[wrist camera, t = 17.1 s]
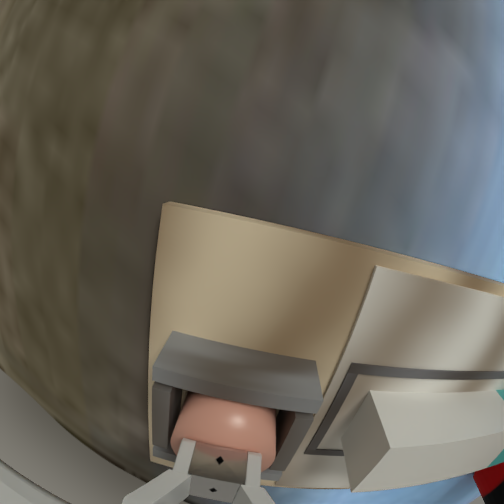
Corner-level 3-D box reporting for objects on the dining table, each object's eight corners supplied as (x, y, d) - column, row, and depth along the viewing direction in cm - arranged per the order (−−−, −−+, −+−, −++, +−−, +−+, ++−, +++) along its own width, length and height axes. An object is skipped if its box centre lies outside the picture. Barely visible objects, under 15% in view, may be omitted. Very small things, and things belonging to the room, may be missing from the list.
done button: (286, 379, 12) (288, 432, 9) (264, 435, 13) (261, 483, 10) (191, 359, 12) (172, 408, 9) (184, 419, 13) (169, 464, 10)
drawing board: (558, 300, 11) (587, 320, 8) (452, 467, 15) (464, 493, 12) (170, 201, 11) (133, 214, 8) (153, 452, 16) (139, 489, 12)
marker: (369, 390, 12) (390, 447, 8) (514, 388, 12) (540, 420, 8) (340, 438, 13) (351, 492, 9) (486, 427, 13) (506, 460, 9)
